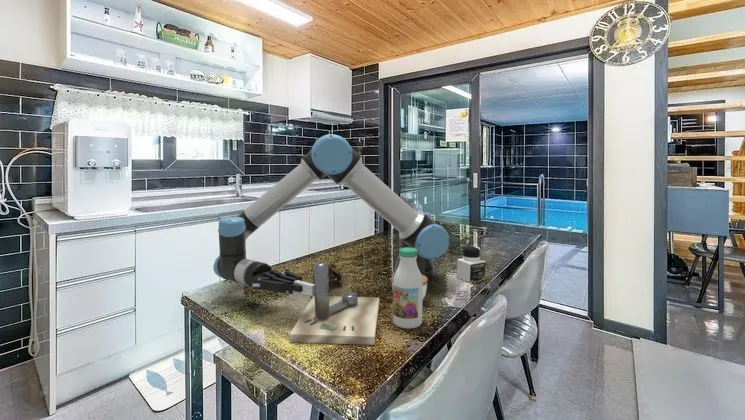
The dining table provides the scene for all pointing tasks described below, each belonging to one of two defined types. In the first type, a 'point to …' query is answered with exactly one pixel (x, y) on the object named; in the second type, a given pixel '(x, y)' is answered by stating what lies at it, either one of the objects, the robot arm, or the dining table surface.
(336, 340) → the dial board
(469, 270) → the medicine bottle
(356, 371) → the dining table surface
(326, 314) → the lever
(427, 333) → the dining table surface
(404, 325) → the milk bottle
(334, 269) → the pottery mug
